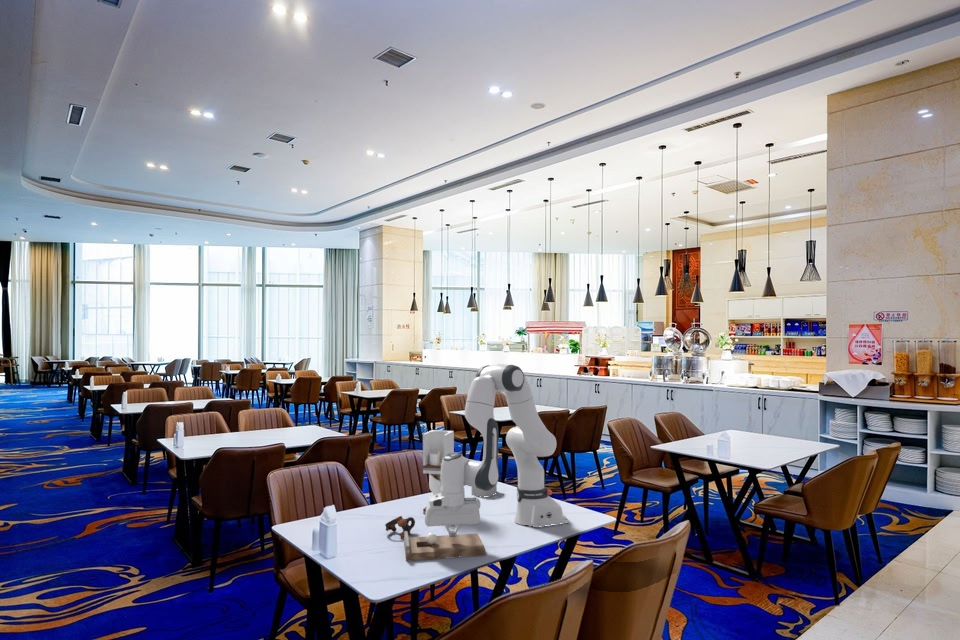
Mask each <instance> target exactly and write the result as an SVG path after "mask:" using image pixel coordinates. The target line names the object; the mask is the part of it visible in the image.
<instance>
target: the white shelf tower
mask: <svg viewBox="0 0 960 640" xmlns="http://www.w3.org/2000/svg"><path fill="white" fill-rule="evenodd" d="M454 449H455V433H454V430H437V429H436V430H435V429H431V430H429V431H427V432H424V433H423V434H422V474H429V475H428V478H429V479H428V480H429V481H428V487H429V490H430V492H431V493H433V495H436V494H438V493H441V486H442V482H441V463H442V459H443V457H444V456H445V455H447V454H450V453H455V450H454ZM426 508H427V506H425V507H423V509H422V514H423V515H425V513H426Z"/></svg>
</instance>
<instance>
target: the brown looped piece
mask: <svg viewBox="0 0 960 640" xmlns="http://www.w3.org/2000/svg"><path fill="white" fill-rule="evenodd" d="M409 523H410V524H409ZM396 525H397V526H398V527H399V528H401V529H402V532H400V533H399V534H398V535H399V536H400V539H401V540H403V539H404V531H407V532H408V537H409V536H411V530H412V529H413V528H414V527H415V525H416V521H415V518H414V517H413V516H412V517H411V516H410V517H409V516H408V517H407V518H403V516H402V515H400V516H398V517H396V518H394V519H392V520H389V521H388V522H386V523H385V524H384V526H385V531H387V532H389V531H392V532H393V533H395V532H396V531H397V527H396Z"/></svg>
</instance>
